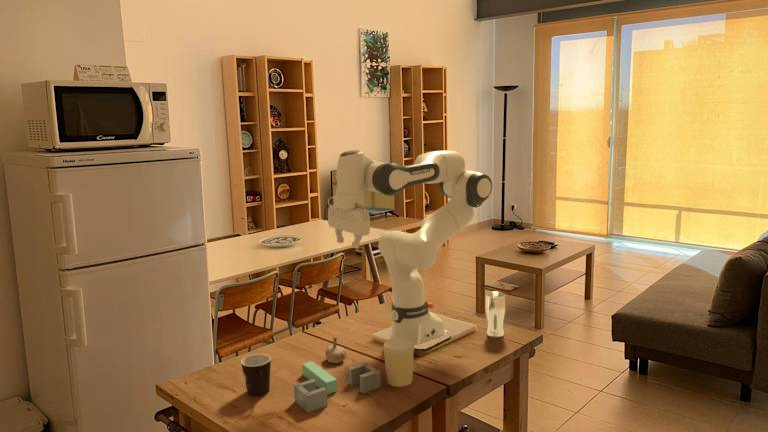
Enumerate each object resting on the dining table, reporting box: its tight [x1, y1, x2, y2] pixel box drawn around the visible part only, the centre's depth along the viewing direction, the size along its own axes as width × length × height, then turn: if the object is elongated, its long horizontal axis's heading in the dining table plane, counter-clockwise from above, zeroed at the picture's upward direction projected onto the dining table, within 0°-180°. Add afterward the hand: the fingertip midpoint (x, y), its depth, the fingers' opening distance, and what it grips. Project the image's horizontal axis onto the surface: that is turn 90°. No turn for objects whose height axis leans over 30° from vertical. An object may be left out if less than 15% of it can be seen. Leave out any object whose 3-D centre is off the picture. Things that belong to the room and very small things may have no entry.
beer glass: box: [485, 291, 506, 338], centre depth 209 cm, size 7×7×15 cm
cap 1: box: [293, 379, 328, 414], centre depth 166 cm, size 6×8×5 cm
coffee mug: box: [240, 353, 272, 398], centre depth 172 cm, size 12×9×10 cm
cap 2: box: [347, 361, 382, 394], centre depth 175 cm, size 6×8×5 cm
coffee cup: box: [382, 338, 415, 387], centre depth 177 cm, size 9×9×12 cm
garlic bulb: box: [324, 336, 347, 364], centre depth 193 cm, size 8×7×8 cm
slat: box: [301, 360, 338, 395], centre depth 178 cm, size 16×3×4 cm, turn 34°
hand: (347, 245), depth 187 cm, fingers open, 8 cm apart
